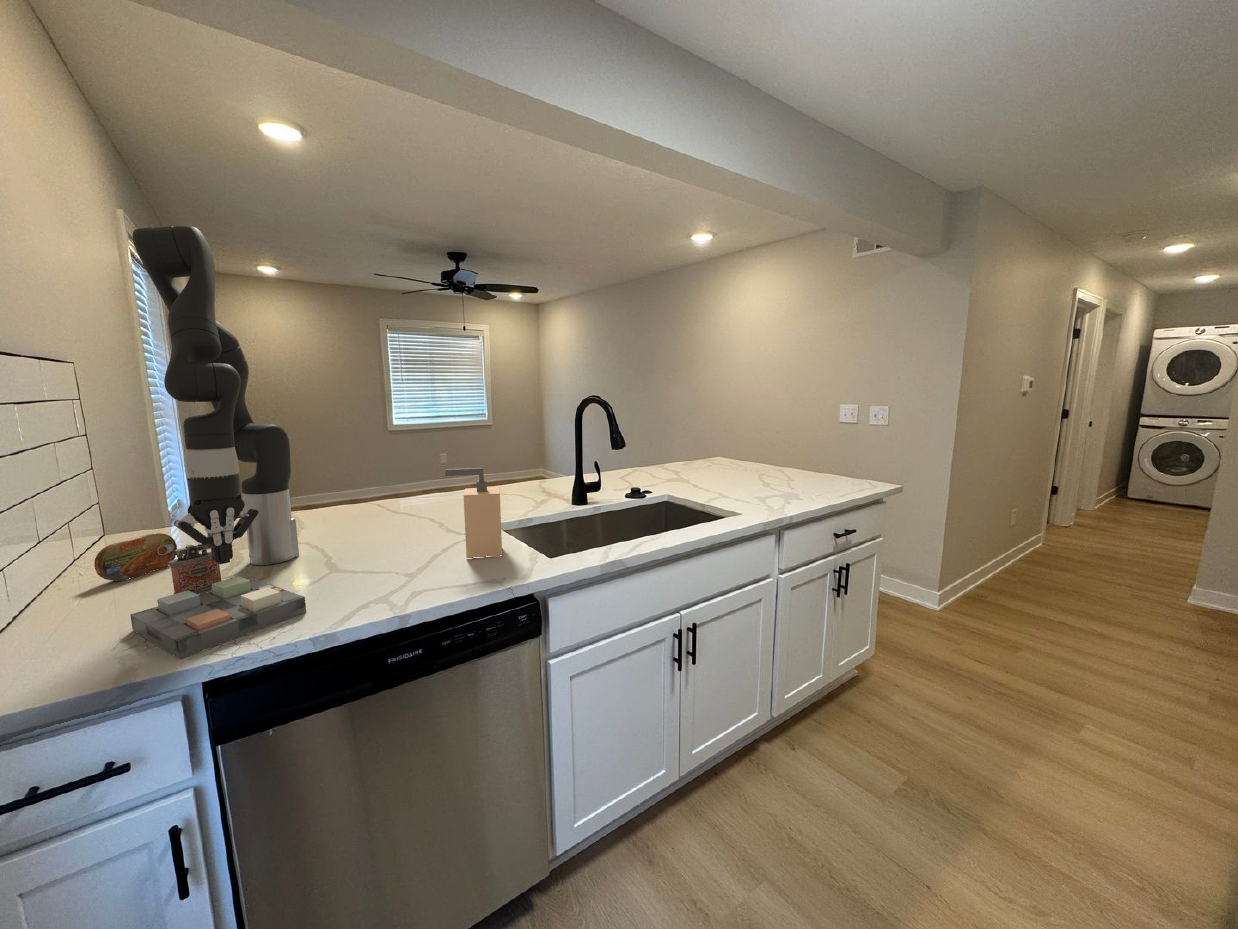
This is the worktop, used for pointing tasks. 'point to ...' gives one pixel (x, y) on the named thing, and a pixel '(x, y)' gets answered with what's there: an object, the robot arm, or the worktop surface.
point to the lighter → (194, 569)
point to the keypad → (187, 641)
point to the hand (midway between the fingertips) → (223, 562)
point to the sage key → (230, 587)
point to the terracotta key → (207, 619)
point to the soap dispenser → (481, 516)
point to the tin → (135, 557)
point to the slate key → (178, 602)
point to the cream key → (260, 599)
